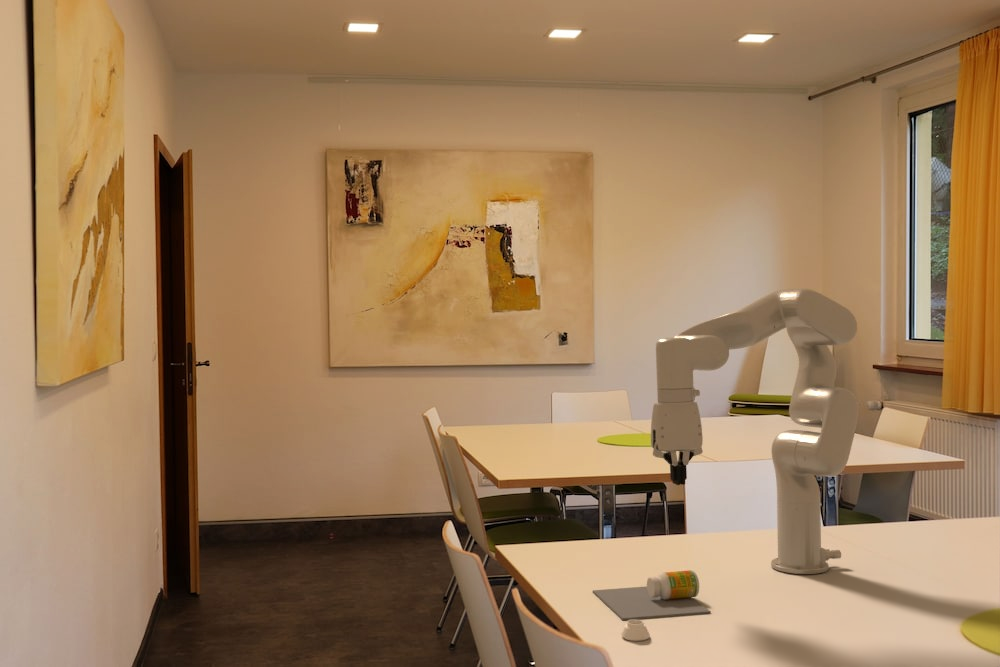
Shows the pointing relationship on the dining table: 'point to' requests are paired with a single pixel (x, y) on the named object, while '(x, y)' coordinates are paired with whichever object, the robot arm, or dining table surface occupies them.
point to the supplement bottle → (674, 585)
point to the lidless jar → (635, 631)
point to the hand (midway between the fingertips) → (678, 483)
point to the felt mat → (646, 604)
